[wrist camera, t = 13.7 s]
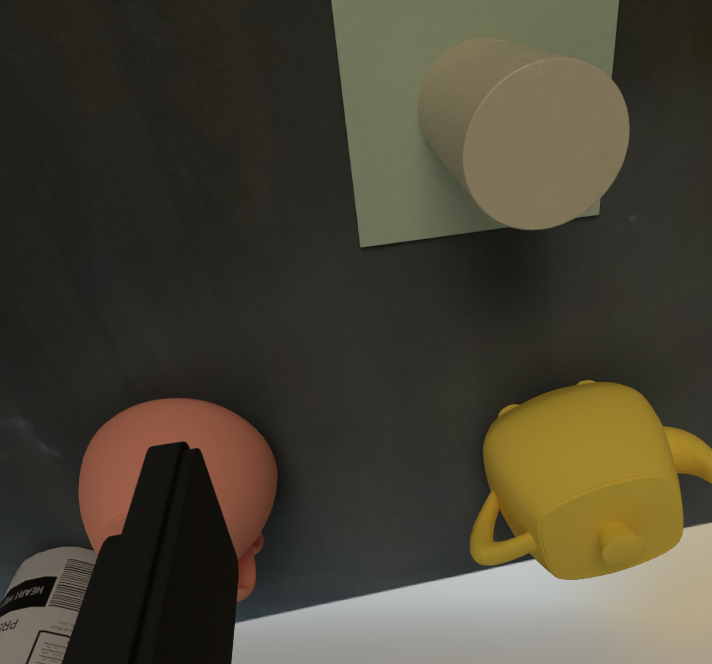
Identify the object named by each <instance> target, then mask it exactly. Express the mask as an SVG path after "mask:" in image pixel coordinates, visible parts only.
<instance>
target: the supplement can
mask: <svg viewBox="0 0 712 664" xmlns="http://www.w3.org/2000/svg"><path fill="white" fill-rule="evenodd" d="M96 560H97V555H96V553H95V551H93V550H89V549H85V548H81V547H59V548H54V549H50V550H46V551H44V552H40V553H37V554H35V555H34V556H32V557H30V558H29V559H27V560H25V561H24V562H23V563H22V565H21V566H20V567H19V569H18V570H17V572H16V573H15V575H14V577H13V579H12V581H11V584H10V586H9V588H8V590H7V592H6V594H5V596H4V598H3V600H2V602H1V604H0V664H61V663H62V660H63V657H64V654H65V651H66V648H67V645H68V643H69V640H70V637H71V634H72V631H73V628H74V625H75V622H76V619H77V616H78V613H79V610H80V607H81V604H82V601H83V598H84V595H85V592H86V589H87V586H88V583H89V580H90V577H91V574H92V571H93V568H94V565H95V562H96Z"/></svg>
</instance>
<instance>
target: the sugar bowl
mask: <svg viewBox="0 0 712 664" xmlns="http://www.w3.org/2000/svg"><path fill="white" fill-rule="evenodd" d="M181 441H185V442H186V443H187V444H188V445H189V448H190V449H194V448H199V449H200V450H201V452H202V455H203V458H204V460H205V463H206V466H207V469H208V472H209V475H210V478H211V481H212V484H213V487H214V490H215V493H216V496H217V499H218V502H219V504H220V507H221V510H222V513H223V516H224V519H225V522H226V525H227V528H228V531H229V534H230V537H231V540H232V543H233V546H234V548H235V551H236V555H237V559H238V566H239V582H238V593H237V602H239V601H241V600H243V599H245V598H247V597H248V596H249V595H250V594H251V592H252V591H253V589H254V587H255V583H256V566H255V558H254V555H255V554H257V553H258V552H259V551H260V550H261V548H262V546H263V543H264V539H263V535H262V533H261V531H262V529H263V527H264V525H265V523H266V521H267V519H268V517H269V514H270V512H271V509H272V506H273V503H274V499H275V495H276V490H277V480H278V472H277V465H276V461H275V458H274V455H273V453H272V451H271V449H270V447H269V445H268V443H267V442H266V440H265V439H264V437H263V436H262V435H261V434H260V433H259V432H258V430H257V429H256V428H255V427H254V426H252V425H251V424H250V423H249V422H248V421H247V420H245V419H244V418H242V417H241V416H239V415H238V414H236V413H234V412H232V411H230V410H228V409H226V408H224V407H222V406H219V405H216V404H214V403H210V402H206V401H203V400H196V399H190V398H165V399H158V400H152V401H148V402H144V403H140V404H138V405H135V406H133V407H130V408H128V409H126V410H124V411H122V412H121V413H119V414H117V415H116V416H115V417H113V418H112V419H111V420H109V421H108V422H107V423H105V424H104V425H103V426H102V427H101V428H100V429H99V430H98V431H97V432H96V434H95V435H94V437H93V438H92V440H91V441H90V443H89V446H88V448H87V450H86V453H85V455H84V458H83V462H82V466H81V471H80V477H79V493H78V495H79V505H80V513H81V517H82V520H83V524H84V527H85V530H86V533H87V535H88V538H89V540H90V542H91V545H92V547H93V549H94V551H95V553H96V555H97V557H98V554H99V551H100V548H101V546H102V544H103V542H104V541H105V540H106V539H107V538H108V537H109V536H113V535H119V534H121V533H122V530H123V527H124V523H125V520H126V517H127V514H128V510H129V507H130V504H131V501H132V497H133V494H134V491H135V488H136V484H137V481H138V478H139V475H140V472H141V468H142V465H143V462H144V459H145V455H146V452H147V450H148V448H149V447H151V446H156V445H162V444H168V443H175V442H181Z"/></svg>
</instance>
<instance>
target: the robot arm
mask: <svg viewBox="0 0 712 664" xmlns="http://www.w3.org/2000/svg"><path fill="white" fill-rule="evenodd" d="M238 582H239V566H238V559H237V555H236V551H235V548H234V546H233V543H232V540H231V537H230V534H229V531H228V528H227V525H226V522H225V519H224V516H223V513H222V510H221V507H220V504H219V502H218V499H217V496H216V493H215V490H214V487H213V484H212V481H211V478H210V475H209V472H208V469H207V466H206V463H205V460H204V458H203V455H202V452H201V450H200V449H199V448H194V449H190V448H189V445H188V444H187V443H186V442H185V441H181V442H175V443H168V444H162V445H156V446H151V447H149V448H148V450H147V452H146V455H145V459H144V462H143V465H142V468H141V472H140V475H139V478H138V481H137V484H136V488H135V491H134V494H133V497H132V501H131V504H130V507H129V510H128V514H127V517H126V520H125V523H124V527H123V530H122V533H121V534H119V535H113V536H109V537H108V538H107V539H106V540H105V541H104V542H103V544H102V546H101V548H100V551H99V554H98V557H97V560H96V562H95V565H94V568H93V571H92V574H91V577H90V580H89V583H88V586H87V589H86V592H85V595H84V598H83V601H82V604H81V607H80V610H79V613H78V616H77V619H76V622H75V625H74V628H73V631H72V634H71V637H70V640H69V643H68V645H67V648H66V651H65V654H64V657H63V660H62V663H61V664H231V660H232V650H233V638H234V627H235V616H236V604H237V593H238Z"/></svg>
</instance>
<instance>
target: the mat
mask: <svg viewBox="0 0 712 664" xmlns="http://www.w3.org/2000/svg"><path fill="white" fill-rule="evenodd" d="M331 2H332V11H333V19H334V28H335V36H336V45H337V53H338V62H339V70H340V78H341V87H342V95H343V104H344V112H345V121H346V129H347V138H348V146H349V155H350V163H351V171H352V180H353V188H354V197H355V205H356V214H357V222H358V231H359V239H360V247H368V246H375V245H383V244H390V243H397V242H404V241H412V240H419V239H426V238H433V237H441V236H448V235H455V234H462V233H470V232H477V231H484V230H491V229H498V228H506V227H509V226H506V225H503V224H501V223H499V222H497V221H495V220H494V219H492V218H491V217H489V216H488V215H487V214H486V213H485V212H484V211H482V210H481V209H480V207H479V206H478V205H477V204H476V203H475V201H474V200H473V199H472V198H471V196H470V195H469V194H468V193H467V192H466V190H465V189H464V188H463V187H462V185H461V184H460V183H459V182H458V180H457V179H456V178H455V177H454V176H453V174H452V173H451V172H450V171H449V169H448V168H447V167H446V166H445V165H444V163H443V162H442V161H441V160H440V158H439V157H438V156H437V155H436V153H435V152H434V151H433V150H432V149H431V147H430V146H429V145H428V143H427V141H426V140H425V138H424V136H423V133H422V131H421V128H420V124H419V117H418V102H419V95H420V91H421V87H422V85H423V82H424V80H425V78H426V76H427V74H428V72H429V70H430V69H431V67H432V66H433V65H434V63H435V62H436V61H437V60H438V59H439V58H440V57H441V56H442V55H443V54H444V53H445V52H446V51H448V50H449V49H451V48H452V47H453V46H455V45H457V44H459V43H461V42H464V41H466V40H469V39H474V38H479V37H492V38H498V39H502V40H506V41H509V42H513V43H517V44H521V45H525V46H529V47H533V48H536V49H540V50H544V51H548V52H552V53H556V54H559V55H563V56H567V57H571V58H575V59H579V60H583V61H585V62H588V63H590V64H592V65H594V66H596V67H598V68H599V69H601V70H602V71H603V72H605V73H606V74H607V75H608V76H609V77H610V78H611V79H612V69H613V59H614V48H615V37H616V27H617V16H618V5H619V0H331ZM599 208H600V199H599V200H598V201H597V202H596V203H595V204H594V205H593V206H592V207H591V208H589V209H588V210H587V211H585V212H584V213H583V214H581V215H579V216H578V217H585V216H592V215H599ZM578 217H576V218H578Z"/></svg>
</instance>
